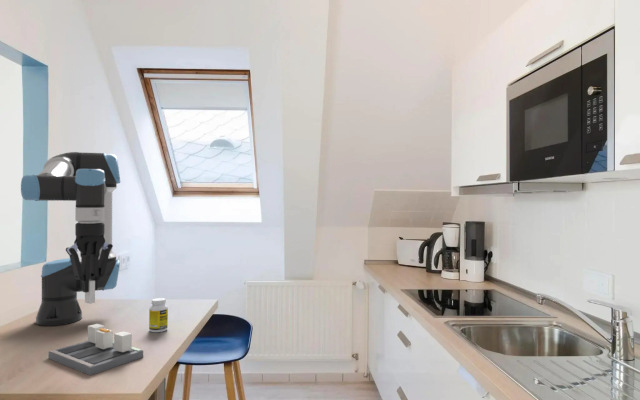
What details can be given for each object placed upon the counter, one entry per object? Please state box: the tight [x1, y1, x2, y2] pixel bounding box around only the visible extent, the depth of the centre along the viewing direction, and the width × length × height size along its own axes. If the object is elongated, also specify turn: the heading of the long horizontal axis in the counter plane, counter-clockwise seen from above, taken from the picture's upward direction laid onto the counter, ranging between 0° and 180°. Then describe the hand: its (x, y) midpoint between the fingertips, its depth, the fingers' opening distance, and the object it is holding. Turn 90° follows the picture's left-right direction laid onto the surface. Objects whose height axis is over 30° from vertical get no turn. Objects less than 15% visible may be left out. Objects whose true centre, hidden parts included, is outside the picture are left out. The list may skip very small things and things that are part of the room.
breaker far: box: [87, 323, 105, 343], centre depth 135 cm, size 4×3×5 cm
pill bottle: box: [148, 297, 169, 333], centre depth 155 cm, size 6×6×11 cm
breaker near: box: [113, 331, 133, 352], centre depth 127 cm, size 4×3×5 cm
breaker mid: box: [96, 328, 114, 349], centre depth 130 cm, size 4×3×5 cm
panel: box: [47, 340, 144, 376], centre depth 128 cm, size 22×16×2 cm
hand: (89, 302), depth 126 cm, fingers closed
